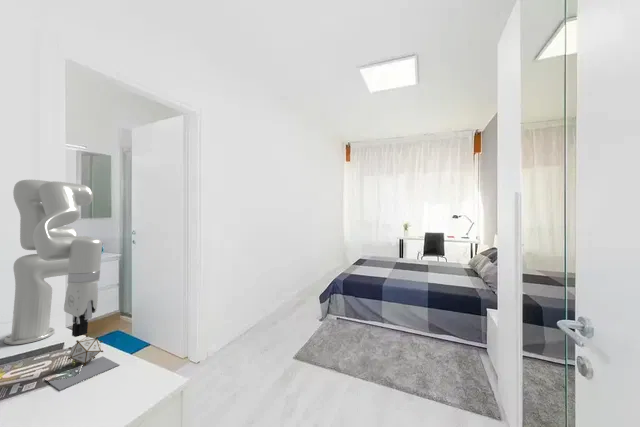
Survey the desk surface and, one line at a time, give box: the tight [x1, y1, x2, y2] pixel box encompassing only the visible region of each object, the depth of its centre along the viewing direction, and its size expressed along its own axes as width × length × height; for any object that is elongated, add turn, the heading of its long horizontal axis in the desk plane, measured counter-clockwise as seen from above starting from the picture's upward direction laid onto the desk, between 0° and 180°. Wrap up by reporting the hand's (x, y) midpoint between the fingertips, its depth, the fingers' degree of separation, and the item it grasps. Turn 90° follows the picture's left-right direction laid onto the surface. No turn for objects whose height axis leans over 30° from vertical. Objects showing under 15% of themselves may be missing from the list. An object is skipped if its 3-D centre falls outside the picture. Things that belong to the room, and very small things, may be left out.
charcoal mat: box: [48, 356, 120, 392], centre depth 76 cm, size 10×14×1 cm
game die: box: [67, 334, 104, 366], centre depth 82 cm, size 9×8×10 cm
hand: (79, 334), depth 81 cm, fingers closed
